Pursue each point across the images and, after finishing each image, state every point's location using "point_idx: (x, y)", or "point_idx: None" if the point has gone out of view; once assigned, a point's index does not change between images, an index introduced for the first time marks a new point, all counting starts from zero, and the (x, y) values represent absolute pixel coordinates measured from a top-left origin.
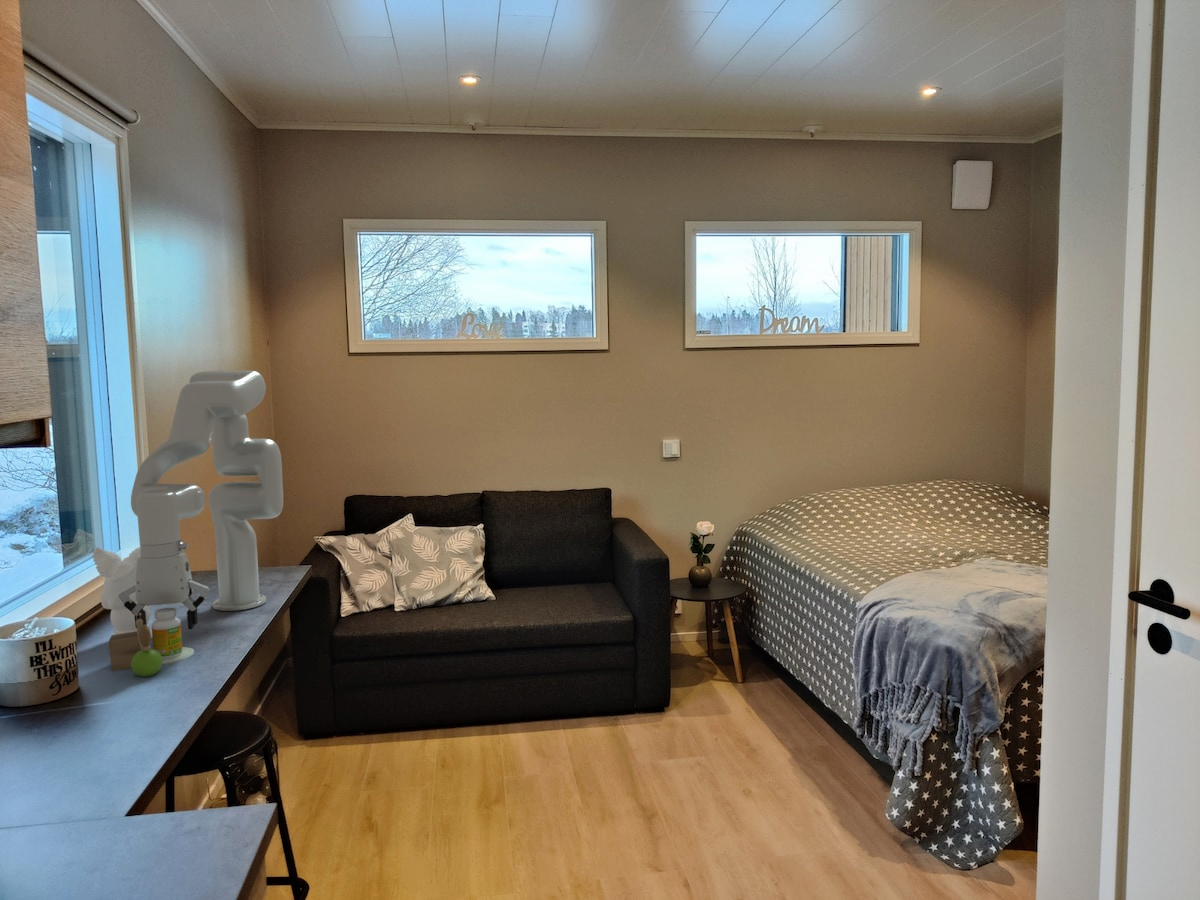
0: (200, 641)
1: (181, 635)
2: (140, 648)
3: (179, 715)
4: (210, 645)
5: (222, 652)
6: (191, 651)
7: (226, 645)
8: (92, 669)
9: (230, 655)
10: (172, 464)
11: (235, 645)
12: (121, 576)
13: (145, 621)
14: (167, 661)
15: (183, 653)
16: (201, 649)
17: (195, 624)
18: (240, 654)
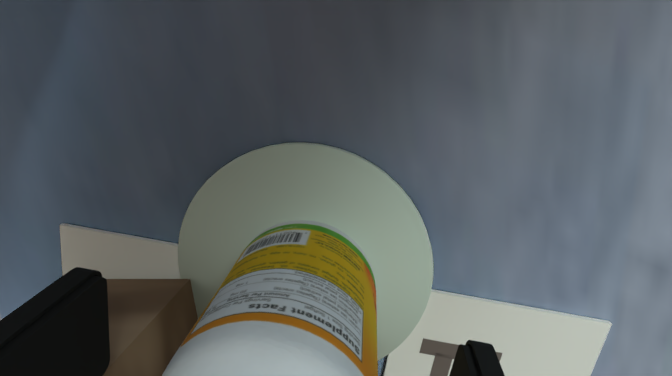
0: (460, 39)
1: (376, 344)
2: (162, 357)
3: None
4: (520, 155)
5: (576, 307)
6: (419, 266)
7: (611, 194)
8: (7, 302)
9: (611, 367)
10: None
11: (662, 215)
12: None
13: (62, 329)
14: None
15: (380, 279)
16: (468, 211)
17: (488, 347)
18: (661, 373)
